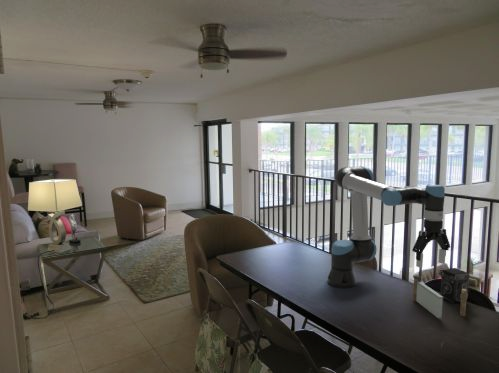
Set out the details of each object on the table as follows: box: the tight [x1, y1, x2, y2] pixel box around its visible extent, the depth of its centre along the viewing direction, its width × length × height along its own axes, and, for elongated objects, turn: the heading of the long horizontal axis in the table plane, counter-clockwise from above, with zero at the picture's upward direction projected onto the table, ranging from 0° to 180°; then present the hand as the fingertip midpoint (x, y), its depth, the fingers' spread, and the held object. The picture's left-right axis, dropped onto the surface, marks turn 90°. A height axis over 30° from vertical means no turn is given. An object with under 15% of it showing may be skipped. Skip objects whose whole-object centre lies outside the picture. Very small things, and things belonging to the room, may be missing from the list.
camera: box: [440, 267, 471, 304], centre depth 172 cm, size 10×10×15 cm
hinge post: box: [412, 274, 421, 303], centre depth 172 cm, size 3×3×13 cm
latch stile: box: [459, 289, 468, 317], centre depth 158 cm, size 2×2×12 cm
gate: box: [416, 281, 444, 319], centre depth 162 cm, size 17×2×10 cm, turn 5°
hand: (430, 265), depth 159 cm, fingers open, 13 cm apart
